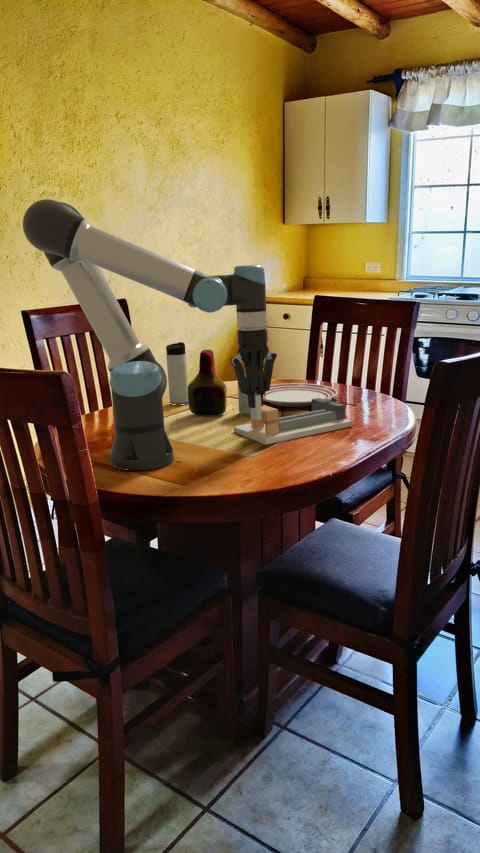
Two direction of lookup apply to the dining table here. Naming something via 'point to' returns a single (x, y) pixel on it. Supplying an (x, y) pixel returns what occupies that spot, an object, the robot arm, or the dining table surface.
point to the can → (243, 403)
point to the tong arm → (301, 415)
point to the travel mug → (177, 373)
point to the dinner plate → (297, 394)
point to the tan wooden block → (267, 420)
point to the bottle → (207, 389)
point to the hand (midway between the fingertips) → (256, 419)
